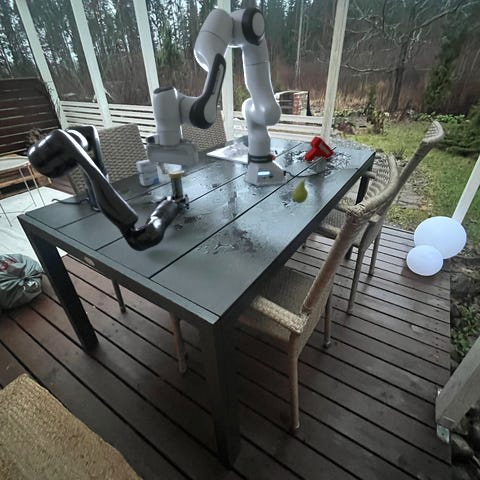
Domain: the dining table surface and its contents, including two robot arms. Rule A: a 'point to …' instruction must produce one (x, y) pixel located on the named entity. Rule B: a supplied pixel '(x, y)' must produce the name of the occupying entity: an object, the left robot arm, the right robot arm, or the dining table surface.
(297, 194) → the fruit
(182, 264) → the dining table surface
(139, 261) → the dining table surface
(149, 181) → the ink box
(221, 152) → the relief map
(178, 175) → the lid
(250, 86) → the right robot arm
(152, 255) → the dining table surface
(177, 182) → the dark grey cylinder
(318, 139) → the toy gun
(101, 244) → the dining table surface
